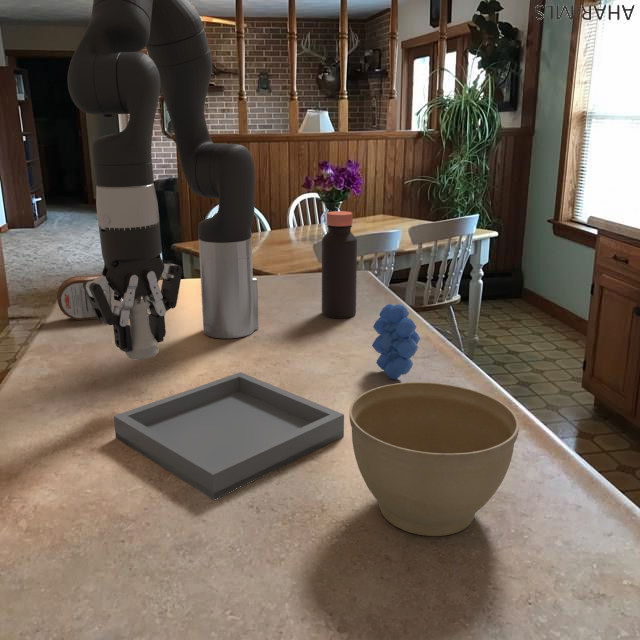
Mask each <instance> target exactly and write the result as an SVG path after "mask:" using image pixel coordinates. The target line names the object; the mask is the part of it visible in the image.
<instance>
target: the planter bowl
mask: <svg viewBox="0 0 640 640" xmlns="http://www.w3.org/2000/svg"><path fill="white" fill-rule="evenodd" d="M348 414H349V423H350V426H351V440H352V441H351V442H352V447H353V453H354V457H355V460H356V464H357V468H358V470H359V472H360V474H361V476H362V477H361V478H362V479H363V481H364V482H365V485H366V487H367V488H368V489H369V491H370V493H371V495H373V497H374V499H375V500H376V501H377V502H378V506H379V511H380V513H381V515H382V516H383V517H384V518H385V519H386V521H388V522H389V523H391V524H392V526H394V527H396V528H398V529H400V530H402V531H405V532H408V533H411V534H415V535H419V536H426V537H427V536H428V537H441V536H442V537H443V536H449V535H453V534H456V533H459V532H461V531H463V530H465V529H466V528H468V527H469V526H470V525H471V524H472V522H473V520H474V519H475V515H476V513H477V512H478V511H480V510H481V509H482V508H483V507H484V506H485V505H486V504H487V503H488V502H489V501H490V500H491V498H493V496H494V495H495V494H496V492H497V490H498V489H499V487H500V486H501V485H502V483H503V481H504V480H505V477H506V475H507V472H508V470H509V468H510V465H511V461H512V458H513V453H514V449H515V448H514V447H515V443H516V441H517V438H518V436H519V431H520V422H519V420H518V416H517V415H516V414H515V412H514V411H513V410H512V409H511V408H510V407H509V406H507V404H505V403H504V402H502V401H501V400H499V399H497V398H495V397H493V396H491V395H489V394H487V393H484V392H481V391H478V390H475V389H471V388H467V387H465V386H464V387H463V386H458V385H454V384H453V385H452V384H446V383H440V382H427V381H426V382H425V381H410V382H408V381H407V382H399V383H392V384H386V385H382V386H378V387H375V388H372V389H369V390H367V391H365V392H362V394H360V395H358V396H357V397H356V398H355V399H354V400H353V402H352V403H351V405H350V407H349V413H348Z"/></svg>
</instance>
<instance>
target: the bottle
mask: <svg viewBox="0 0 640 640" xmlns="http://www.w3.org/2000/svg"><path fill="white" fill-rule="evenodd" d="M353 218H354V217H353V212H352V211H344V210H342V211H341V210H334V211H329V212H326V228H328V232H327V233H326V234H324V236H323V237H322V239H321V314H322V315H323V316H325V317H327V318H331V319H347V318H352V317H354V316H355V315H356V313H357V273H358V272H357V265H358V264H357V263H358V239H357V237H356V236H355V235H354V234H353V233H352V232H351V230H352V229H351V228H353Z"/></svg>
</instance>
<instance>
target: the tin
mask: <svg viewBox="0 0 640 640" xmlns="http://www.w3.org/2000/svg"><path fill="white" fill-rule="evenodd" d="M100 276H102V274H89V275H87V274H86V275H74V276H71V277H69V278H67V279H65V280H63V282H62V283H61V284H60V286H59V287H58V289H57V293H56V298H57V305H58V307H59V309H60V311H61V312H62V313H63V315H65V316H66V317H68V318H70V319H72V320H75V321H76V320H77V321H86V320H96V319H97V317H96V315H95V312H94V310H93V308H92V306H91V304H90V301H89V299H88V297H87V295H86V293H85V290H84V288H83V283H84V282H85V281H93V280H95V279H97V278H98V277H100ZM106 290H107V293H106V294H105V297H106V299H107V301H108V303H109V306H110V308H111V310H112V304H111V296H112V290H113V289H112V288H111V287H110V286H109V285H108V284H107V285H106ZM123 299H124V298H122V300H123ZM136 299H138V298H136ZM97 320H98V319H97Z"/></svg>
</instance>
